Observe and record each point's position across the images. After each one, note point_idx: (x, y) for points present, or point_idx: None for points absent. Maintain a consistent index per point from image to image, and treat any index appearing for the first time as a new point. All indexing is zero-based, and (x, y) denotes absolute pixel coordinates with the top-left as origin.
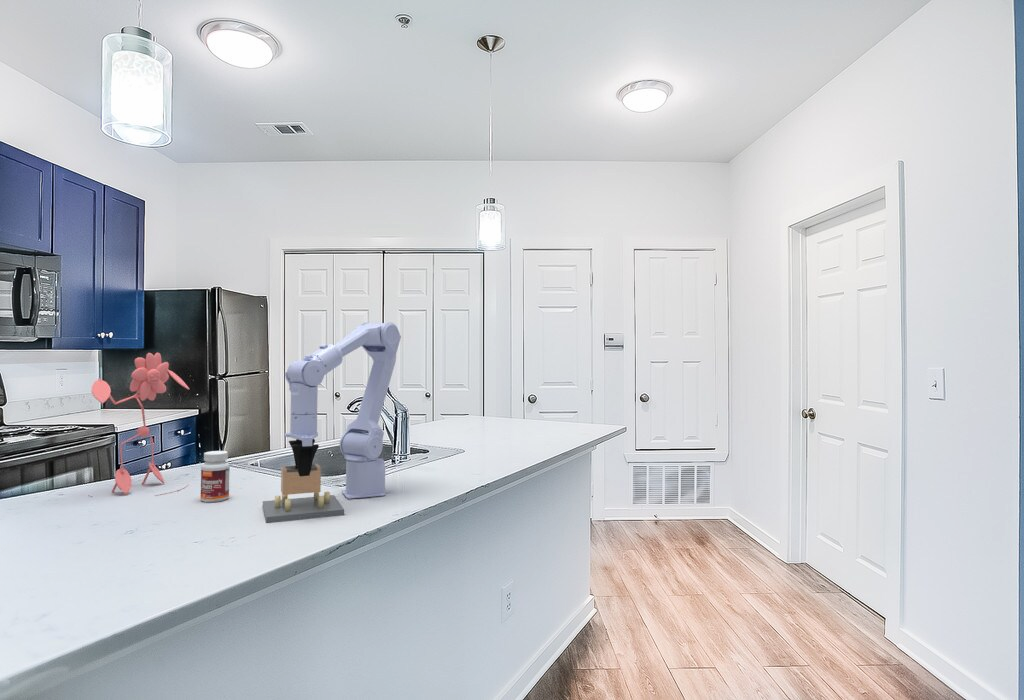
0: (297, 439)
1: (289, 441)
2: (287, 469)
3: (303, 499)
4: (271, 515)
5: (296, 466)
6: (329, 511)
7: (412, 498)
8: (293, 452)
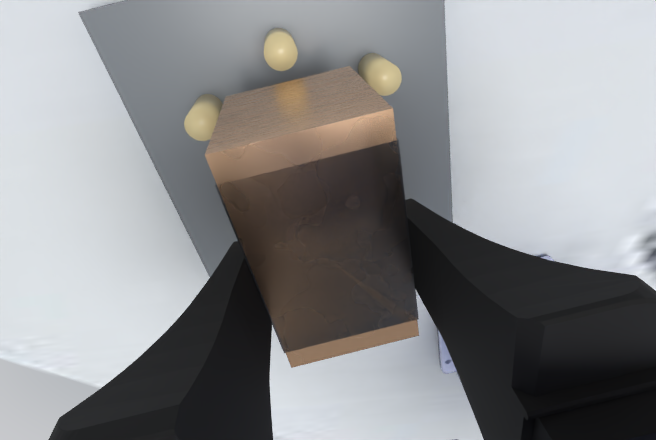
0: (646, 392)
1: (601, 316)
2: (230, 187)
3: (416, 148)
4: (116, 36)
5: (360, 229)
6: (207, 267)
7: (393, 419)
8: (457, 269)
